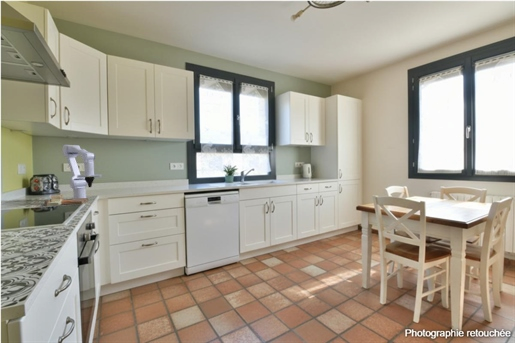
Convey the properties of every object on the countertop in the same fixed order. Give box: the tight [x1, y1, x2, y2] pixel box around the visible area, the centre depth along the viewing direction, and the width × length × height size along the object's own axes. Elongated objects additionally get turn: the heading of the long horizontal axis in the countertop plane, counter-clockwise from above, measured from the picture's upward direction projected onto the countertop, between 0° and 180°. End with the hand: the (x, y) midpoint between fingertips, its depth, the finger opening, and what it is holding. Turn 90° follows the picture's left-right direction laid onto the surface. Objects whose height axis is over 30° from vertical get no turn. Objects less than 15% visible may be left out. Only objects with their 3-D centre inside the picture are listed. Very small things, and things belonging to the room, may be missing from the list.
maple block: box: [50, 194, 64, 202], centre depth 162 cm, size 5×5×4 cm
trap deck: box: [44, 197, 89, 207], centre depth 165 cm, size 16×20×4 cm
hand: (90, 187), depth 173 cm, fingers closed
